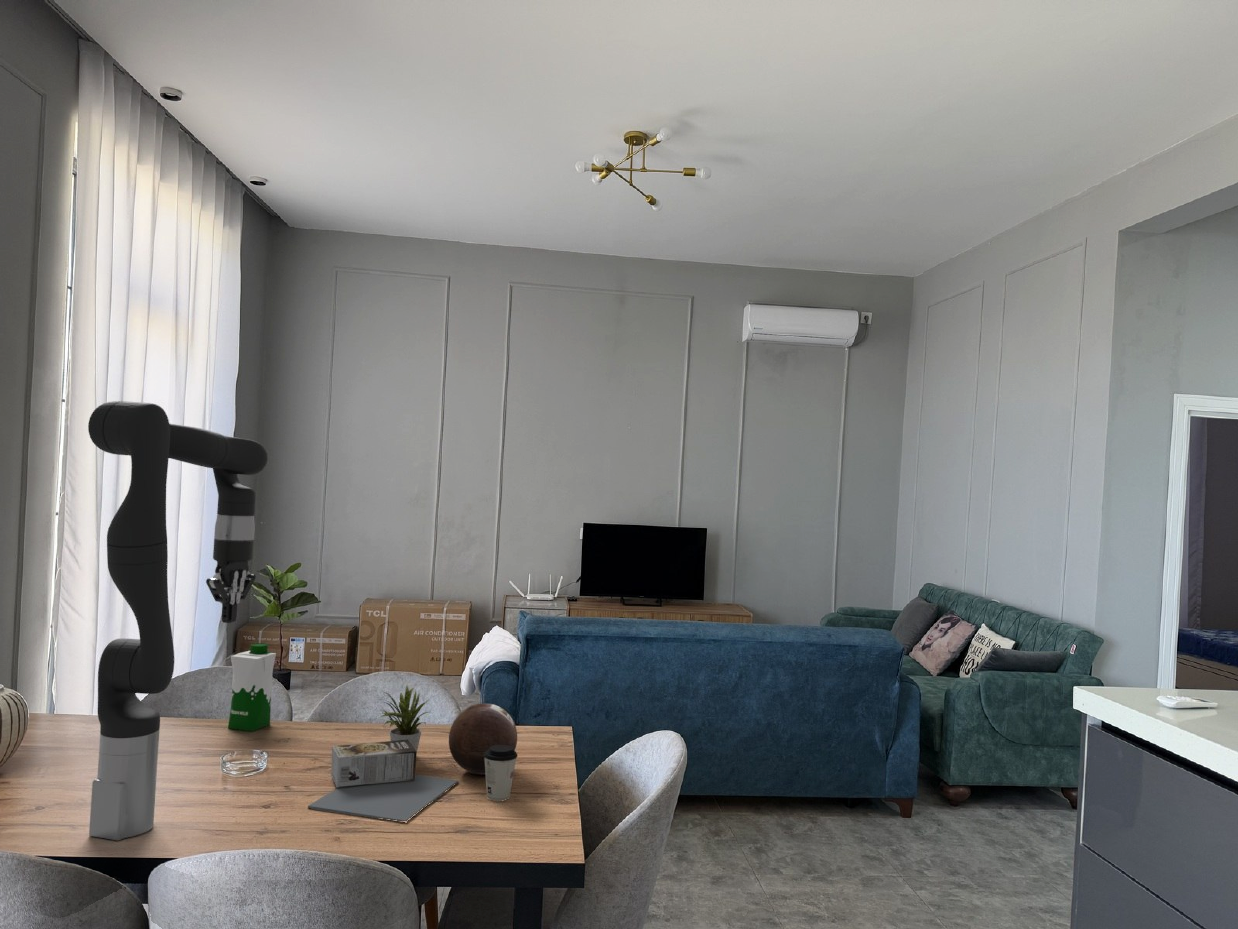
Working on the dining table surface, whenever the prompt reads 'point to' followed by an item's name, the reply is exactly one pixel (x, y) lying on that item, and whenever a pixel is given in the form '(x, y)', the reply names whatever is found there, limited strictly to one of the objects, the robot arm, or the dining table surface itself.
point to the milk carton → (251, 688)
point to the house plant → (405, 719)
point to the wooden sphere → (480, 735)
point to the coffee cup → (499, 771)
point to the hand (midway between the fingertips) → (228, 622)
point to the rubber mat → (385, 798)
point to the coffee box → (373, 763)
